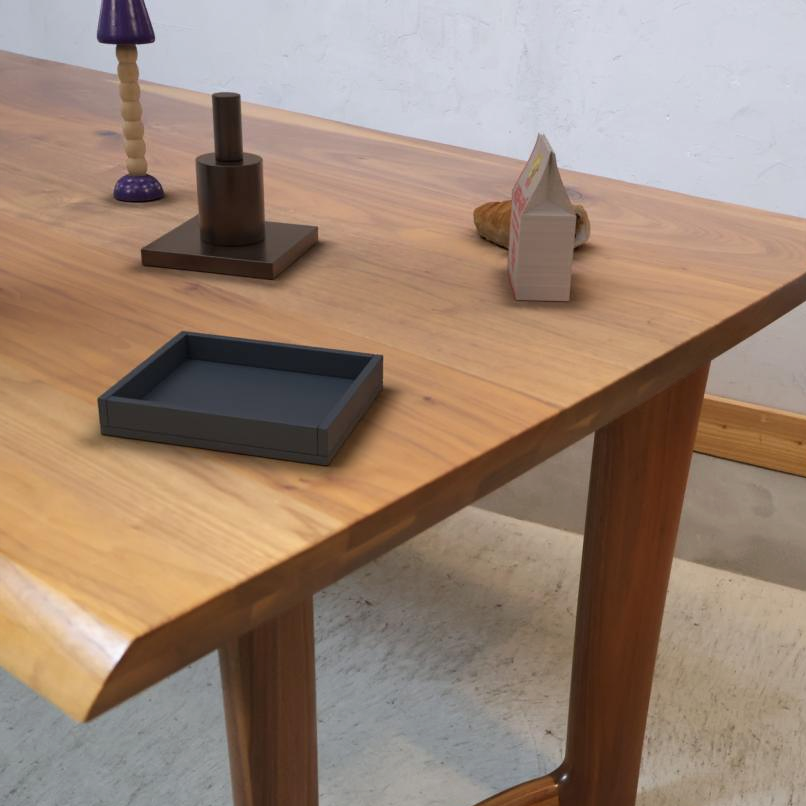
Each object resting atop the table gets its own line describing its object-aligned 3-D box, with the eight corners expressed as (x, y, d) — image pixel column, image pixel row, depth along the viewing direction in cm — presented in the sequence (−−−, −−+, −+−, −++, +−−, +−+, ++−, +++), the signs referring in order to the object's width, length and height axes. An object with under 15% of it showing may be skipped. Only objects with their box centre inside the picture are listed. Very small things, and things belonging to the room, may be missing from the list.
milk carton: (556, 270, 85) (568, 133, 81) (568, 301, 79) (581, 154, 75) (507, 269, 85) (515, 132, 80) (515, 299, 79) (525, 153, 74)
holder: (141, 264, 83) (127, 100, 78) (198, 228, 91) (189, 78, 86) (273, 279, 81) (268, 112, 76) (318, 241, 90) (316, 88, 85)
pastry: (453, 238, 92) (455, 190, 90) (502, 222, 97) (505, 177, 95) (551, 263, 87) (555, 213, 85) (598, 245, 92) (602, 198, 90)
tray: (100, 434, 58) (96, 398, 57) (183, 362, 67) (181, 330, 66) (327, 466, 56) (327, 429, 55) (383, 387, 65) (383, 354, 64)
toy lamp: (101, 192, 100) (81, -13, 93) (149, 185, 103) (134, -15, 96) (128, 204, 97) (110, -8, 90) (177, 197, 100) (163, -9, 93)
